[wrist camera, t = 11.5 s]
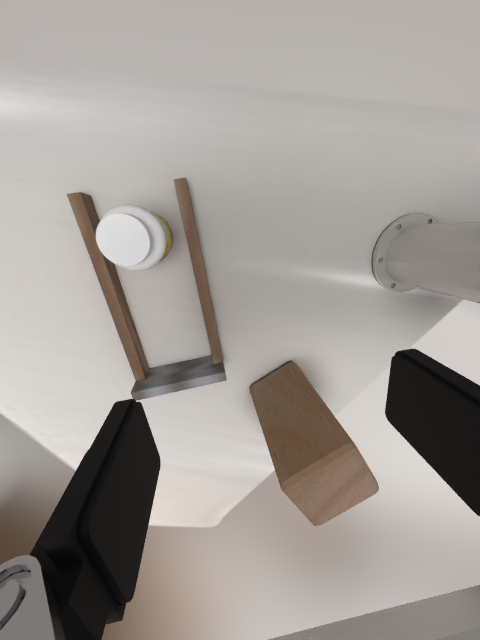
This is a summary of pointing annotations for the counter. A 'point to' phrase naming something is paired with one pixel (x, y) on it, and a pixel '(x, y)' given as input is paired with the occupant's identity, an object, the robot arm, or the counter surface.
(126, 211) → the supplement bottle
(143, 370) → the shelf lane
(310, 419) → the block
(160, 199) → the counter surface
